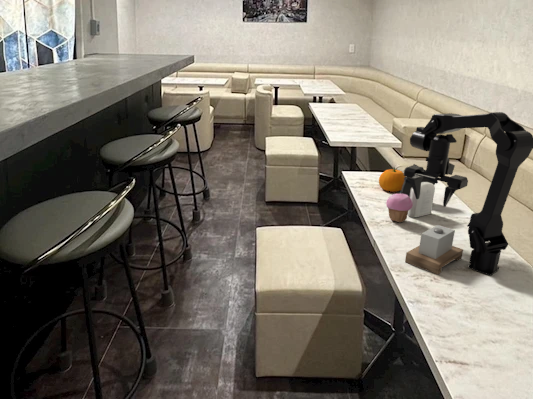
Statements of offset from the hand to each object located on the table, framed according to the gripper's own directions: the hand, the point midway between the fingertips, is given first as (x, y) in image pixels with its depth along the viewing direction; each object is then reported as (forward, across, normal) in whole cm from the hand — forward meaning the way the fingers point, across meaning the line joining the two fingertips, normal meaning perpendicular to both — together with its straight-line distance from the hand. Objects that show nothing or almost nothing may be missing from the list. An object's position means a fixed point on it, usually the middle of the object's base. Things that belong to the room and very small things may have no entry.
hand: (430, 202), depth 149 cm
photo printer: (+12, +12, -18) cm, 25 cm away
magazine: (+12, +20, -31) cm, 39 cm away
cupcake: (+12, +14, -6) cm, 20 cm away
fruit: (+12, +35, -37) cm, 52 cm away
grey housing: (+9, -10, +14) cm, 19 cm away
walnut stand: (+12, -10, +14) cm, 21 cm away
